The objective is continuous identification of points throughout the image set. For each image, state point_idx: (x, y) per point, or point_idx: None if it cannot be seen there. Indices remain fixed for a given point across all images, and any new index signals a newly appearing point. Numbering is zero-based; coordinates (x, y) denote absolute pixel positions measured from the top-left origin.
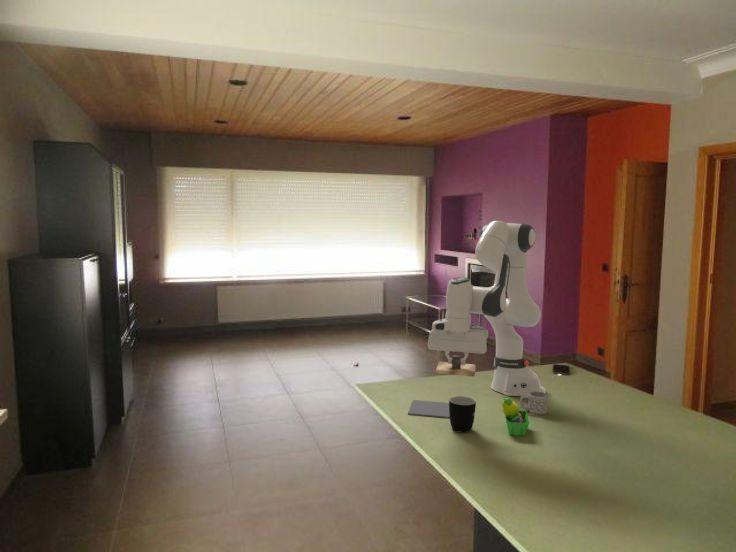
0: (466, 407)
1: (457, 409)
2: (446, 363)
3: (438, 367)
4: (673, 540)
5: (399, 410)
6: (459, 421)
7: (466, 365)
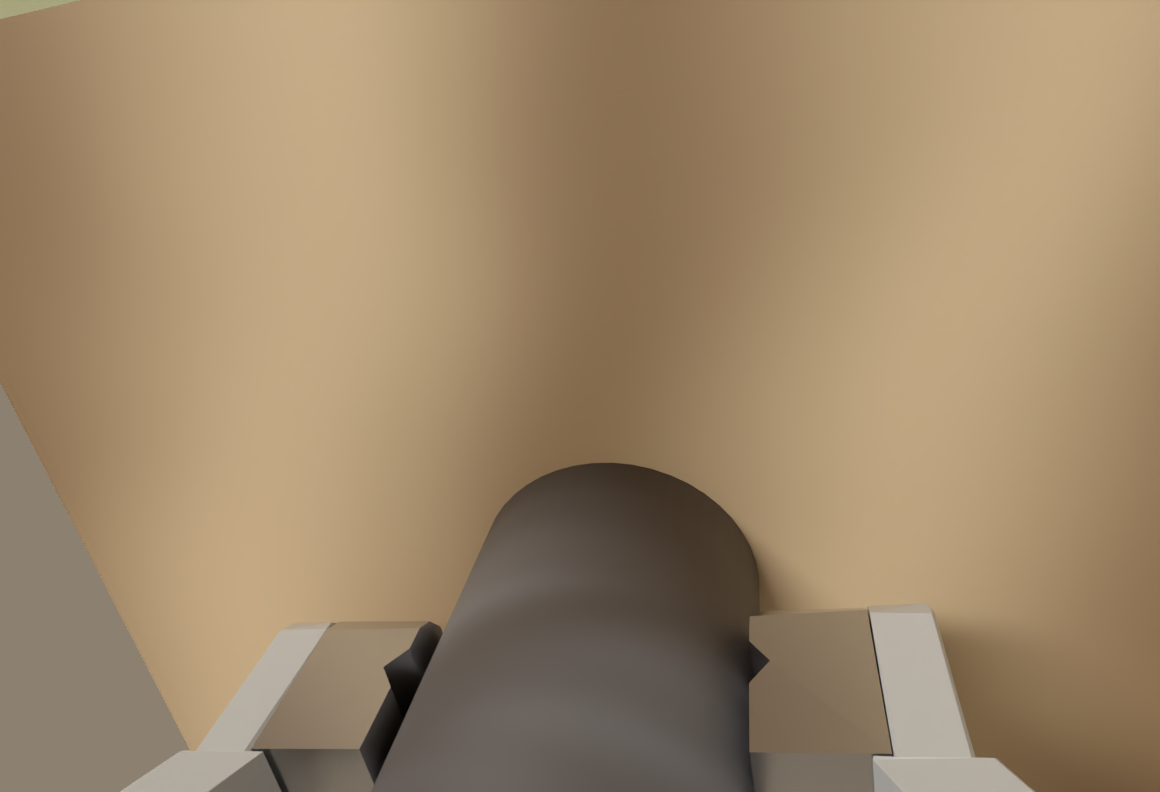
0: None
1: None
2: (159, 206)
3: (197, 696)
4: None
5: (42, 8)
6: None
7: (948, 149)
